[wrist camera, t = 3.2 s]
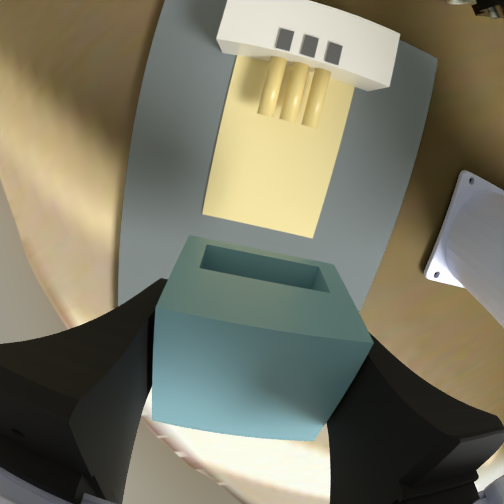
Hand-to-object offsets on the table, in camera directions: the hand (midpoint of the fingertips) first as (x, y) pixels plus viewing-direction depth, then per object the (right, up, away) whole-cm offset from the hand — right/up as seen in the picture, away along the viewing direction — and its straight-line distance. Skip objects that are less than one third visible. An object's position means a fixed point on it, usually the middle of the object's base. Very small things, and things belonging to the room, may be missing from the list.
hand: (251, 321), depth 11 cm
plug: (0, 0, +1) cm, 1 cm away
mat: (+1, +6, +7) cm, 9 cm away
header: (+2, +12, +4) cm, 13 cm away
